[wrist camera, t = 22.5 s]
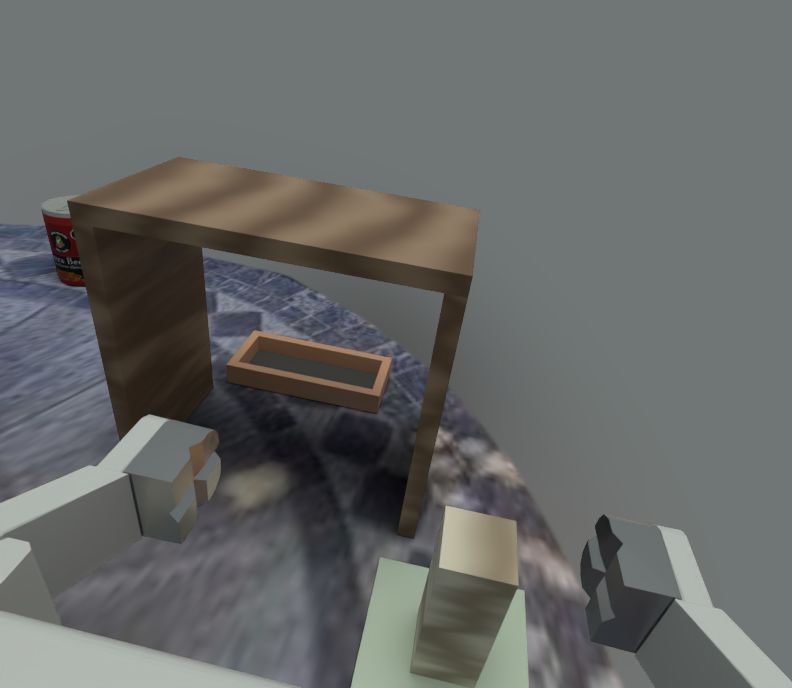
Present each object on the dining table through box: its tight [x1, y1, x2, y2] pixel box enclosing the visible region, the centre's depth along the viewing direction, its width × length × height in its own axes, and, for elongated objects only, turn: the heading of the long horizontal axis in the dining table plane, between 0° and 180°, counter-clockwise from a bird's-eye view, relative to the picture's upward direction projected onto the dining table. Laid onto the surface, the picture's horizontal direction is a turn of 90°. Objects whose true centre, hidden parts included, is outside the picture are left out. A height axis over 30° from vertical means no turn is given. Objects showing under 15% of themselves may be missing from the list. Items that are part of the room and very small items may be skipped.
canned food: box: [41, 196, 86, 286], centre depth 74 cm, size 8×8×11 cm
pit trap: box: [226, 330, 392, 413], centre depth 62 cm, size 18×8×2 cm, turn 80°
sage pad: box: [351, 557, 529, 688], centre depth 37 cm, size 12×12×1 cm
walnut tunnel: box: [67, 157, 480, 538], centre depth 45 cm, size 27×14×26 cm, turn 80°
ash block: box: [410, 506, 518, 688], centre depth 34 cm, size 4×4×12 cm
